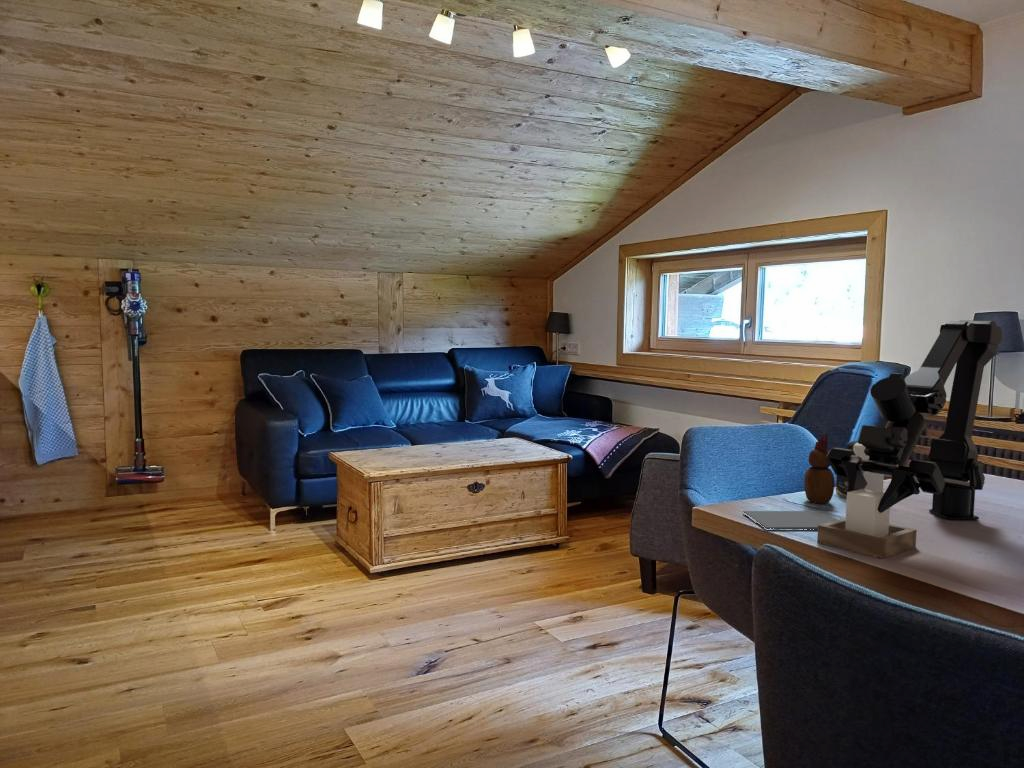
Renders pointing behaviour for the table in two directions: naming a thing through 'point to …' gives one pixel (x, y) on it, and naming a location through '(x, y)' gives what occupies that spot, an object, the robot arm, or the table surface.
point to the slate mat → (791, 519)
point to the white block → (866, 513)
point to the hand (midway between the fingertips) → (863, 507)
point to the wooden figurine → (819, 475)
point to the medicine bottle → (872, 479)
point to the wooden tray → (867, 539)
